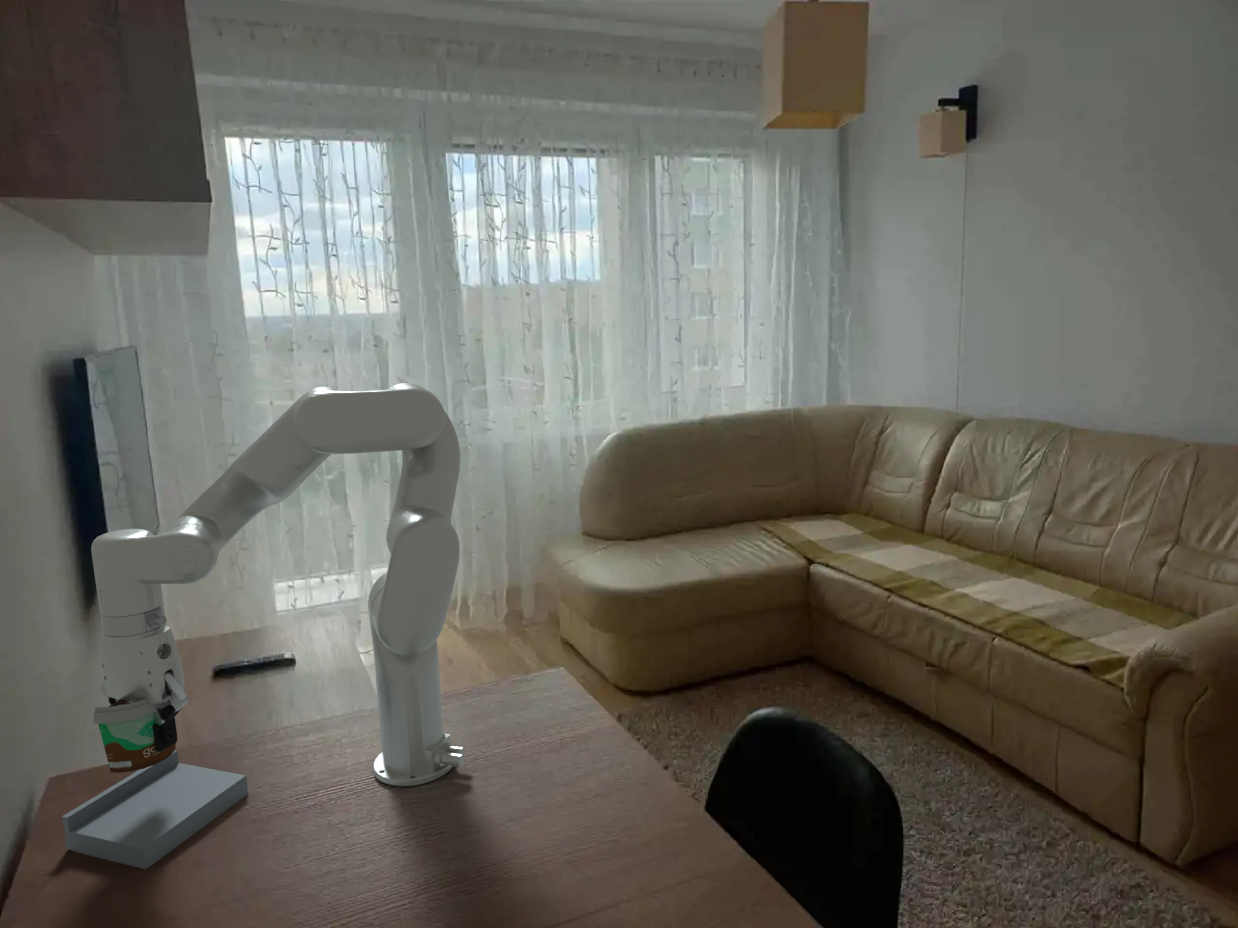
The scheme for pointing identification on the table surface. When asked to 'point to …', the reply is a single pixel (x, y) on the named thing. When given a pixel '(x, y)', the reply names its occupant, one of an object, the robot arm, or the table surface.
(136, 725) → the food container
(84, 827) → the stand
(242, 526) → the robot arm
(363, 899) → the table surface
